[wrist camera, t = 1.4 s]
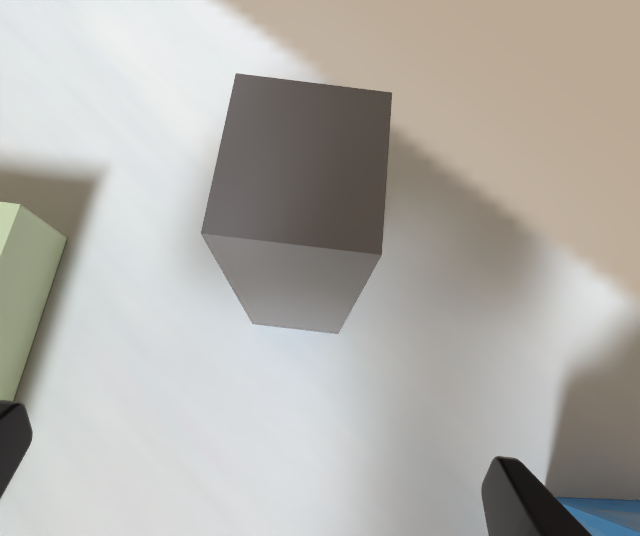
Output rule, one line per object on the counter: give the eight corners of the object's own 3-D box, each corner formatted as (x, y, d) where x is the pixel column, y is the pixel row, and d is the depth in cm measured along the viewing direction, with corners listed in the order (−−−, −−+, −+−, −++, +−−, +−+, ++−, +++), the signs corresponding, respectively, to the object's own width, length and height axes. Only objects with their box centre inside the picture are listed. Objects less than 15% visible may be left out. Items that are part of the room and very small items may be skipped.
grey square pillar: (337, 333, 22) (381, 255, 10) (252, 323, 22) (201, 233, 10) (346, 240, 23) (392, 84, 12) (267, 231, 23) (237, 64, 12)
